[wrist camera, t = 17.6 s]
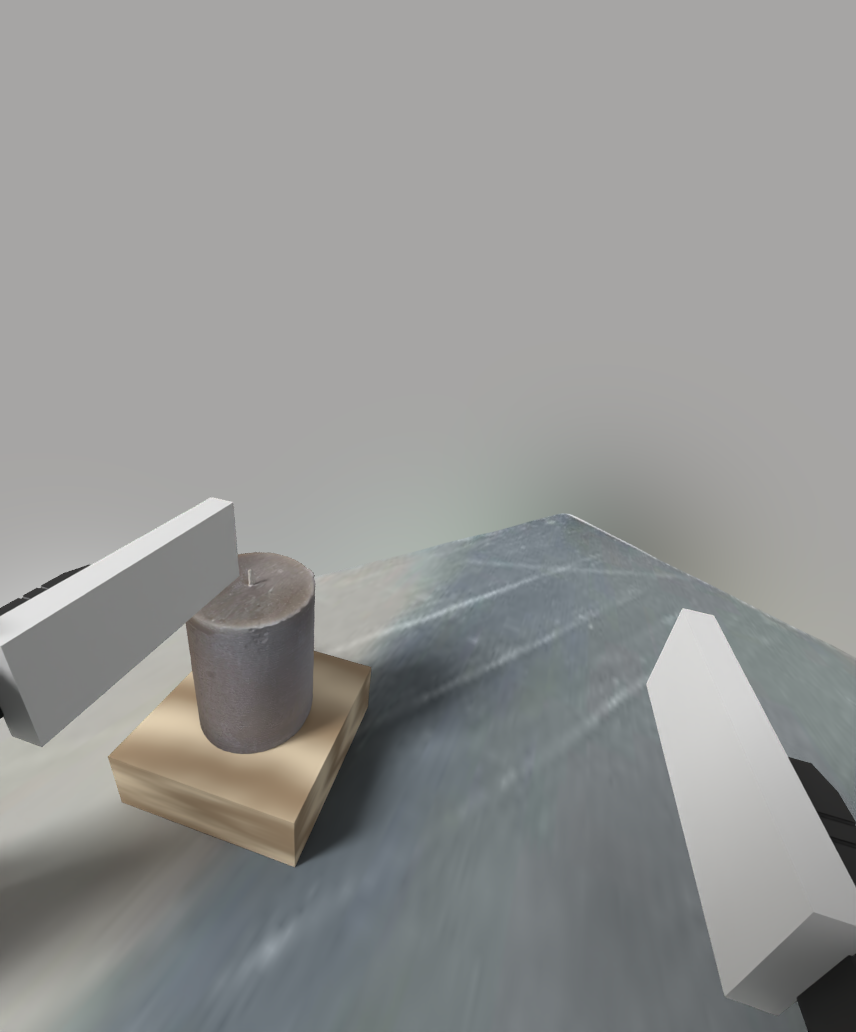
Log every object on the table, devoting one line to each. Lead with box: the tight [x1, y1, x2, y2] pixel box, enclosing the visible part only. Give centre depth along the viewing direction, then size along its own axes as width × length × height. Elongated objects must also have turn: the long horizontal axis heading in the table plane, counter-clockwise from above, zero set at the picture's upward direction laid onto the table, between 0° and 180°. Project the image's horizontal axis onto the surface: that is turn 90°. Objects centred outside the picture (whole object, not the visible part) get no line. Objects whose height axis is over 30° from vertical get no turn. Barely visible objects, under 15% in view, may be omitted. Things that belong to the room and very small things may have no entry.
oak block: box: [108, 651, 371, 867], centre depth 42 cm, size 16×16×6 cm
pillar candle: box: [186, 552, 315, 754], centre depth 37 cm, size 10×10×15 cm
